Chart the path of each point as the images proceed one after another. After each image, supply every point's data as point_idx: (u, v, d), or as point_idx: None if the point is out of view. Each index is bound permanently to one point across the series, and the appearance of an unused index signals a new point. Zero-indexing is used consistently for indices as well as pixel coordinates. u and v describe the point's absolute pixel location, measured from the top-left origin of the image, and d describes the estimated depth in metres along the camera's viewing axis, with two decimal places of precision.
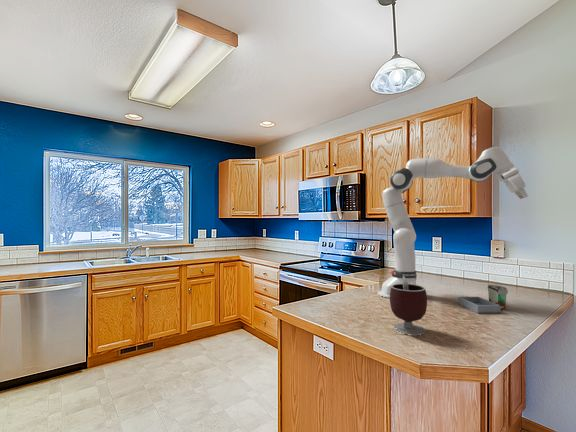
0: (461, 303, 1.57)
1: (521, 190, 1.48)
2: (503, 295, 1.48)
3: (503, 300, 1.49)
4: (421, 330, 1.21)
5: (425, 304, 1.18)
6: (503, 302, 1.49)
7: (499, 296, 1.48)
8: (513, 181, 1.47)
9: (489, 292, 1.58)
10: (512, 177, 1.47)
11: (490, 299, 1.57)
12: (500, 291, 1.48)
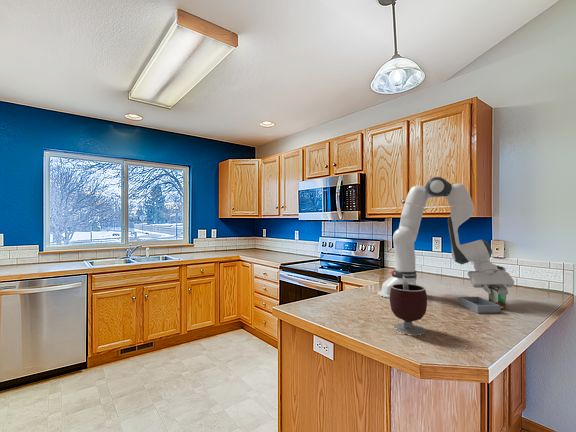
0: (461, 303, 1.57)
1: None
2: (503, 295, 1.48)
3: (503, 300, 1.49)
4: (421, 330, 1.21)
5: (425, 304, 1.18)
6: (503, 302, 1.49)
7: (499, 296, 1.48)
8: None
9: None
10: None
11: (490, 299, 1.57)
12: (500, 291, 1.48)
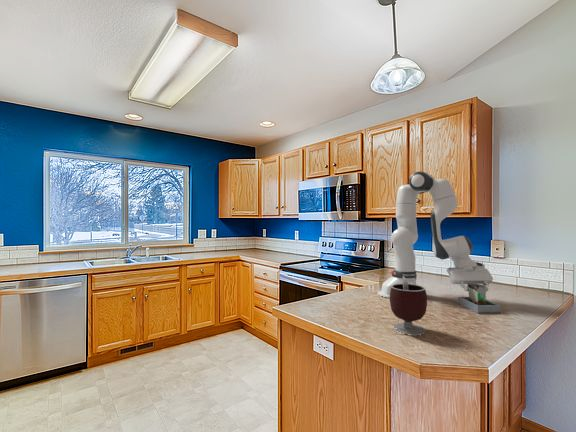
0: (461, 303, 1.57)
1: None
2: (482, 294, 1.48)
3: (483, 299, 1.48)
4: (421, 330, 1.21)
5: (425, 304, 1.18)
6: (483, 301, 1.48)
7: (479, 295, 1.47)
8: None
9: (469, 291, 1.57)
10: None
11: (470, 298, 1.56)
12: (479, 290, 1.47)
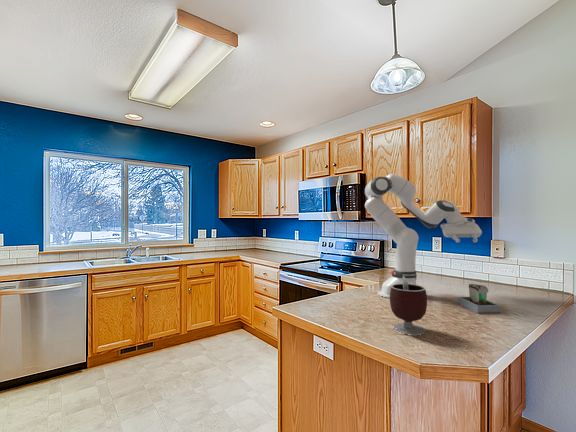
0: (461, 303, 1.57)
1: None
2: (484, 294, 1.48)
3: (484, 299, 1.48)
4: (421, 330, 1.21)
5: (425, 304, 1.18)
6: (484, 301, 1.48)
7: (480, 295, 1.47)
8: None
9: (470, 291, 1.57)
10: None
11: (471, 298, 1.56)
12: (481, 290, 1.47)
